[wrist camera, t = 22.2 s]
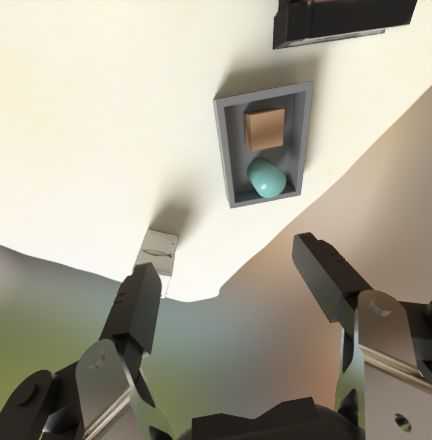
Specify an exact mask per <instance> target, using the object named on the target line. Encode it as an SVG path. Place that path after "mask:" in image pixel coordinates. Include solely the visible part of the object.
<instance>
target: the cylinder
mask: <svg viewBox="0 0 432 440" xmlns="http://www.w3.org/2000/svg"><path fill="white" fill-rule="evenodd" d="M247 177H248V179H249V180H250V182H251V183H252V184H253V186H254V187H255V189H256V190H257V192H258V193H259V194H260V195H261V196H262V197H265V198H272V197H275V196H277V195H278V194H280V193H281V192H282V191H283V189H284V187H285V185H286V177H285V175H284V174H283V173H282V172H281V171H280V170H279V169H278V168H276V167H275V166H274V165H273V164H272V163H270V162H269V161H268V160H267V159H265V158H257V159H255V160H253V161H252V162H251V163H250V164H249V165H248V168H247Z"/></svg>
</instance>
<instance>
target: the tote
mask: <svg viewBox="0 0 432 440" xmlns="http://www.w3.org/2000/svg"><path fill="white" fill-rule="evenodd" d="M313 86H314V81H309V82H303V83H296V84H291V85H286V86H281V87H276V88H271V89H266V90H261V91H256V92H251V93H246V94H241V95H235V96H230V97H225V98H220V99H215V100H213V105H214V112H215V119H216V126H217V133H218V140H219V147H220V154H221V161H222V168H223V175H224V182H225V189H226V196H227V200H228V203H229V206H230V209H231V208H236V207H241V206H247V205H252V204H257V203H262V202H268V201H273V200H278V199H283V198H288V197H294V196H299V195H301V188H302V180H303V171H304V163H305V154H306V146H307V137H308V129H309V120H310V112H311V103H312V95H313ZM267 108H281V109H285V111H284V130H283V145H282V146H276V147H271V148H266V149H260V150H255V151H251V150H250V149H249V148H248V147H247V146H246V145H245V143H244V127H243V113H246V112H251V111H257V110H262V109H267ZM257 158H265V159H267V160H268V161H269V162H270V163H272V164H273V165H274V166H275V167H276V168H278V169H279V170H280V171H281V172H282V173H283V174H284V175H285V177H286V185H285V187H284V189H283V191H282V192H281V193H280V194H278V195H277V196H275V197H272V198H265V197H262V196H261V195H260V194H259V193H258V192H257V190H256V189H255V187H254V186H253V184H252V183H251V182H250V180H249V179H248V177H247V168H248V165H249V164H250V163H251V162H252V161H253V160H255V159H257Z"/></svg>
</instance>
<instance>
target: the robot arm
mask: <svg viewBox="0 0 432 440" xmlns="http://www.w3.org/2000/svg"><path fill="white" fill-rule="evenodd" d="M292 258H293V262H294V264H295V265H296V267H297V269H298V271H299V273H300V274H301V276H302V277H303V279H304V281H305V282H306V284H307V286H308V287H309V289H310V291H311V292H312V294H313V296H314V297H315V299H316V301H317V302H318V304H319V305H320V307H321V309H322V310H323V312H324V314H325V315H326V317H327V319H328V320H329V322H330V323H333V322H338V321H339V322H340V324H341V325H342V327H343V328H342V338H341V353H340V370H339V378H338V382H337V386H336V392H335V403H334V411H333V410H331V409H329V408H327V407H324V406H321V405H318V404H314V401H313V398H312V397H308V398H301V399H296V400H291V401H286V402H281V403H280V404H279V405H277V406H275V407H274V408H272V409H270V410H269V411H267V412H266V413H264V414H262V415H261V416H259V417H258V418H256V419H247V418H242V417H238V416H233V415H228V414H223V413H220V414H214V415H209V416H203V417H198V418H192V427H190V428H189V429H187V430H186V431H185V432H184V433H183V434H181V435H180V437H179V438H178V439H177V438H176V435H175V433H174V431H173V429H172V427H171V425H170V423H169V421H168V419H167V418H166V416H165V415H164V414H163V412H162V411H161V409H160V407H159V405H158V403H157V401H156V399H155V397H154V395H153V392H152V390H151V388H150V386H149V384H148V382H147V379H146V377H145V375H144V373H143V371H142V369H141V367H140V365H141V360H142V357H145V356H150V355H151V350H152V344H153V338H154V332H155V326H156V320H157V315H158V308H159V303H160V297H161V291H162V283H161V279H160V277H159V275H158V273H157V271H156V269H155V268H154V266H153V264H152V263H151V262H147V263H142V264H137V265H136V266H135V268H134V270H133V273H132V275H131V276H127V278H126V279H125V280H124V281H123V283H122V284H121V286H120V288H119V290H118V293H117V297H116V298H115V301H114V305H113V306H112V308H111V311H110V313H109V316H108V318H107V321H106V323H105V326H104V328H103V331H102V333H101V336H100V338H99V340H98V341H97V342H95V343H94V344H92V345H91V346H90V347H89V348H88V349H87V350H86V351H85V352H84V353H83V355H82V356H81V358H80V360H78V361H77V362H75V363H73V364H71V365H69V366H67V367H65V368H63V369H62V370H60V371H58V372H56V373H52V372H50V371H48V370H40V371H37V372H35V373H34V374H32V375H30V376H29V377H28V378H26V379H25V380H24V381H23V382H22V383H21V384H20V385H19V386H18V387H17V388H16V389H15V390H14V392H13V393H12V394H11V396H10V397H9V399H8V401H7V402H6V404H5V406H4V407H3V409H2V411H1V412H0V440H39V438H40V435H41V433H42V431H43V432H44V433H43V436H42V438H41V440H432V301H431V302H430V303H429V304H428V305H427V304H419V303H410V302H402V301H397V300H396V299H395V298H393V297H392V296H390V295H388V294H386V293H384V292H381V291H378V290H374V289H373V288H372V287H371V286H370V285H369V284H368V283H367V282H366V281H365V280H364V279H363V278H362V277H361V276H360V275H359V274H358V272H357V271H356V270H354V268H353V267H352V266H351V265H350V264H349V263H348V262H347V261H345V259H344V258H343V257H342V256H341V255H340V254H339V252H338V251H337V250H336V249H335V248H334V247H333V246H332V245H330V244H329V243H327V242H325V241H323V240H317V239H316V238H315V237H314V235H313V234H311V233H310V232H307V233H302V234H297V235H295V236H294V242H293V251H292ZM418 369H419V370H420V372H421V373H422V375H423V376H424V377H425V378H424V377H422V376H421V375H420V373H419V371H418ZM84 433H85V437H84ZM83 437H84V439H83Z"/></svg>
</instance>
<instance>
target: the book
mask: <svg viewBox="0 0 432 440" xmlns="http://www.w3.org/2000/svg"><path fill="white" fill-rule="evenodd" d="M416 3H417V0H279V7H278V14H277V15H276V16H275V17H274V31H273V50H274V49H281V48H288V47H294V46H301V45H308V44H315V43H322V42H328V41H335V40H342V39H349V38H356V37H362V36H369V35H376V34H383V33H384V32H385V29H387V28H394V27H401V26H406V25H409V24H410V21H411V18H412V15H413V12H414V9H415V6H416Z"/></svg>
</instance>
